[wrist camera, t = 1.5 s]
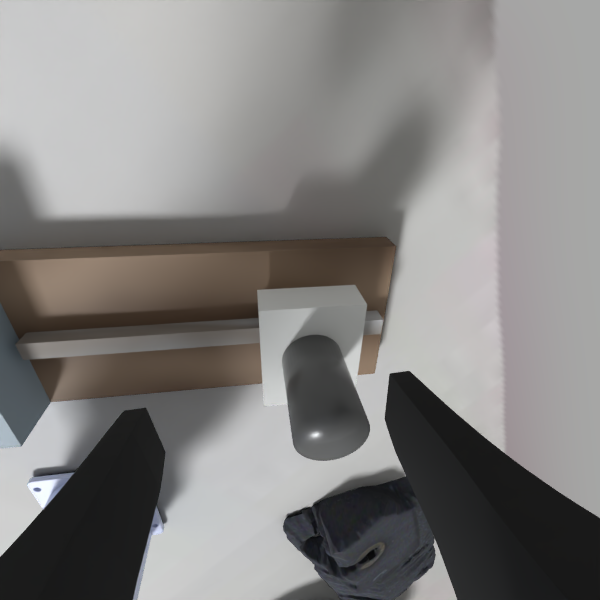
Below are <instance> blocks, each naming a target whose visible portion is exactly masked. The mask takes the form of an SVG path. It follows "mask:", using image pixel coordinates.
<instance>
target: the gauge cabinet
mask: <svg viewBox="0 0 600 600" xmlns="http://www.w3.org/2000/svg"><path fill="white" fill-rule="evenodd" d="M18 341H19V338H18V336H17V335H16V333H15V331H14V329H13V327H12V325H11V323H10V321H9V319H8V317H7V315H6V313H5V311H4V309H3V307H2V305H1V303H0V448H10V447H19V446H22V445H23V443H24V442H25V440H26V439H27V437H28V436H29V434H30V432H31V431H32V429H33V428H34V426H35V425H36V423H37V422H38V420H39V419H40V417H41V416H42V414H43V413H44V411H45V410H46V408H47V407H48V405H49V404H50V400H49V398H48V396H47V394H46V392H45V390H44V388H43V386H42V384H41V382H40V380H39V378H38V376H37V374H36V372H35V370H34V368H33V366H32V364H31V362H30V360H23V359H22V357H21V355H20V353H19V351H18V349H17V347H16V345H15V344H16V343H17V342H18Z"/></svg>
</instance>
